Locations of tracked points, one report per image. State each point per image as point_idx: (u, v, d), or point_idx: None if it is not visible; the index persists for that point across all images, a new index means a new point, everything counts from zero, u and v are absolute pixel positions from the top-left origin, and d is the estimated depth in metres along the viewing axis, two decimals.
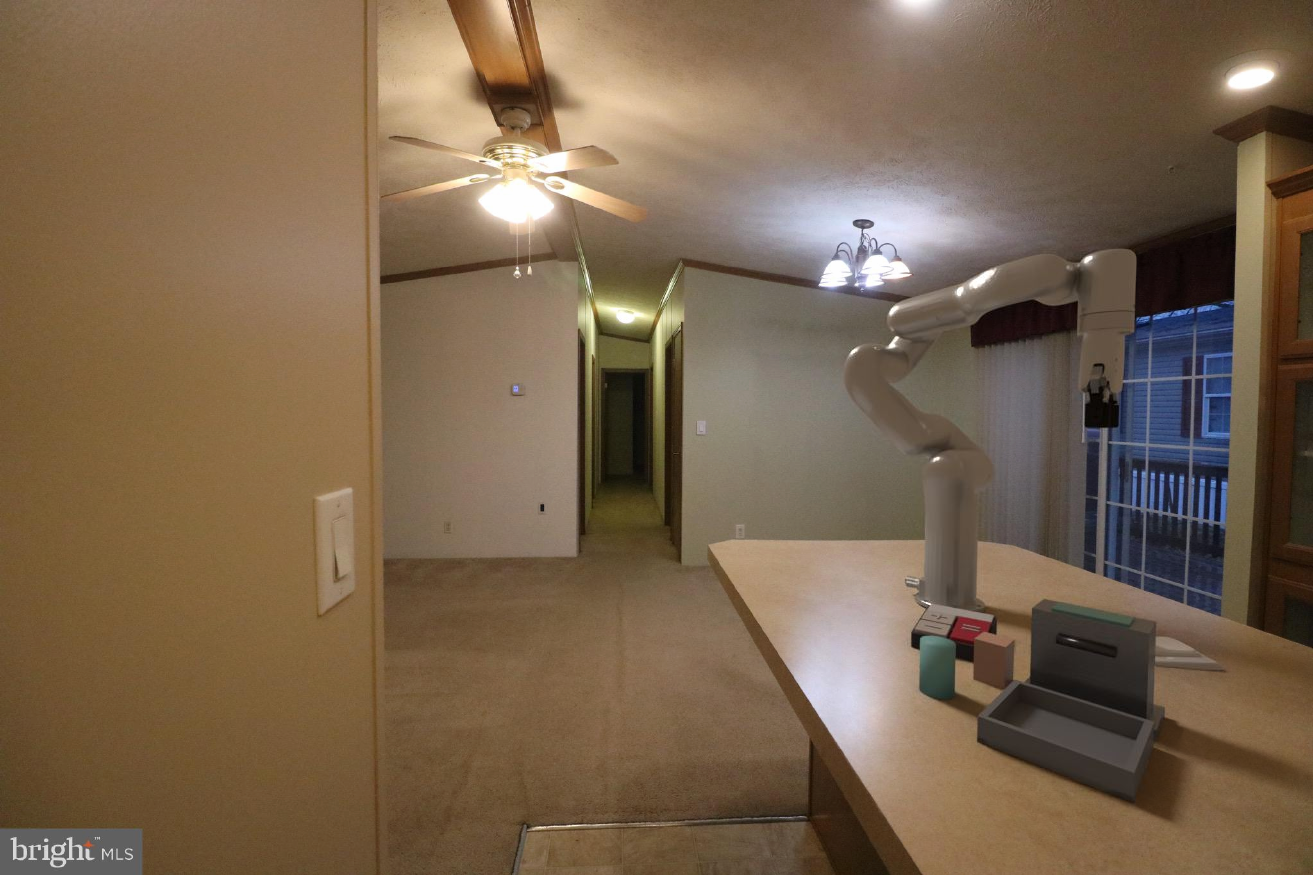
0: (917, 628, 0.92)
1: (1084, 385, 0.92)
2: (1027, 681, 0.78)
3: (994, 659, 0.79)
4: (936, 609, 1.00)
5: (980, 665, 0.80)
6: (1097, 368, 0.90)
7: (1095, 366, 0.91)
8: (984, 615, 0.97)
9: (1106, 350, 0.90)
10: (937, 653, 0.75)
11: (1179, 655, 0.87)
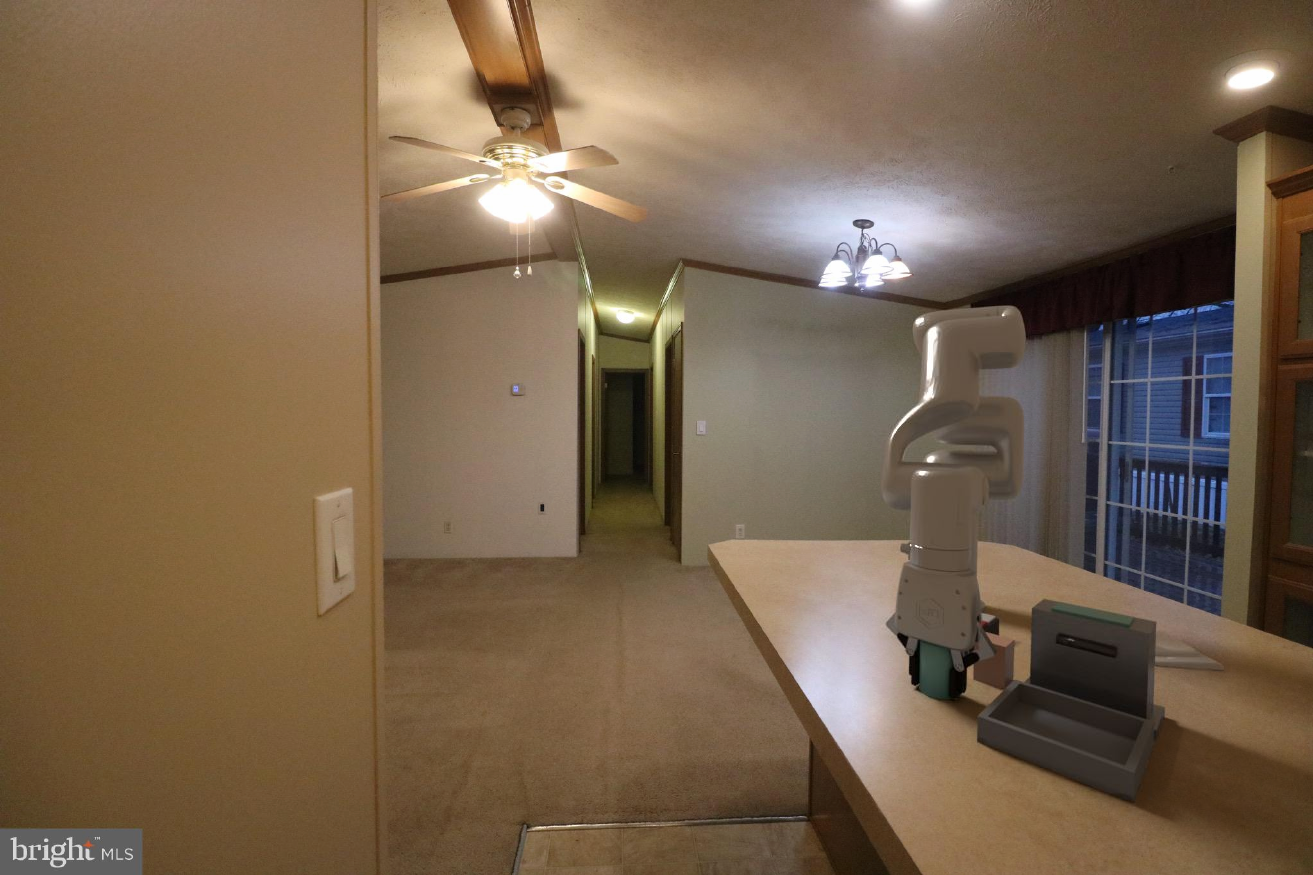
0: None
1: (972, 645, 0.72)
2: (1027, 681, 0.78)
3: (994, 659, 0.79)
4: None
5: (980, 665, 0.80)
6: (982, 630, 0.73)
7: (977, 625, 0.73)
8: (984, 615, 0.97)
9: (979, 597, 0.74)
10: (937, 653, 0.75)
11: (1179, 655, 0.87)
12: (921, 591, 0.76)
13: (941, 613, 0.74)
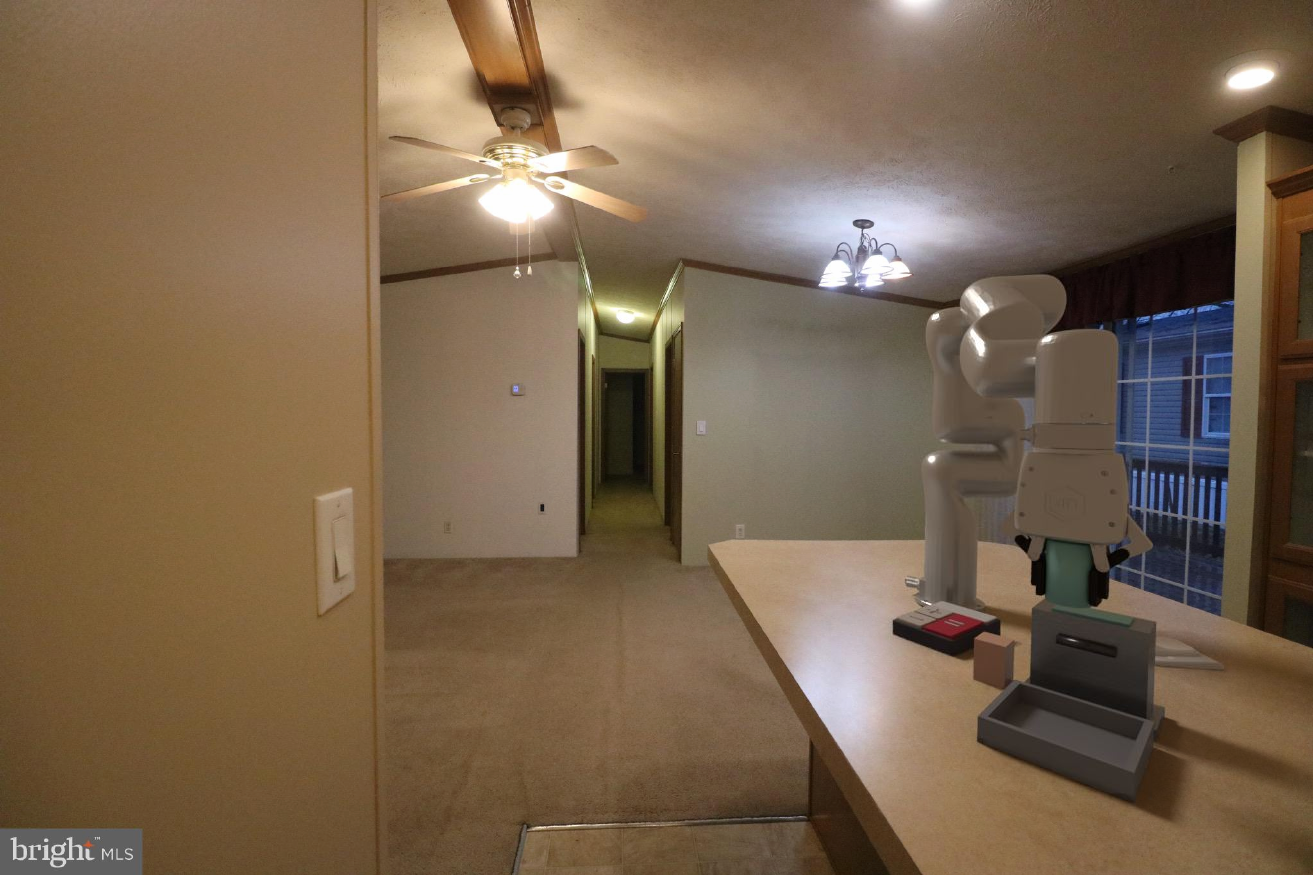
0: (898, 617, 0.98)
1: (1123, 537, 0.59)
2: (1027, 681, 0.78)
3: (994, 659, 0.79)
4: (940, 606, 1.02)
5: (980, 665, 0.80)
6: (1133, 521, 0.60)
7: (1127, 515, 0.60)
8: (985, 616, 0.97)
9: (1127, 483, 0.61)
10: (1073, 553, 0.62)
11: (1179, 655, 0.87)
12: (1052, 478, 0.63)
13: (1081, 502, 0.61)
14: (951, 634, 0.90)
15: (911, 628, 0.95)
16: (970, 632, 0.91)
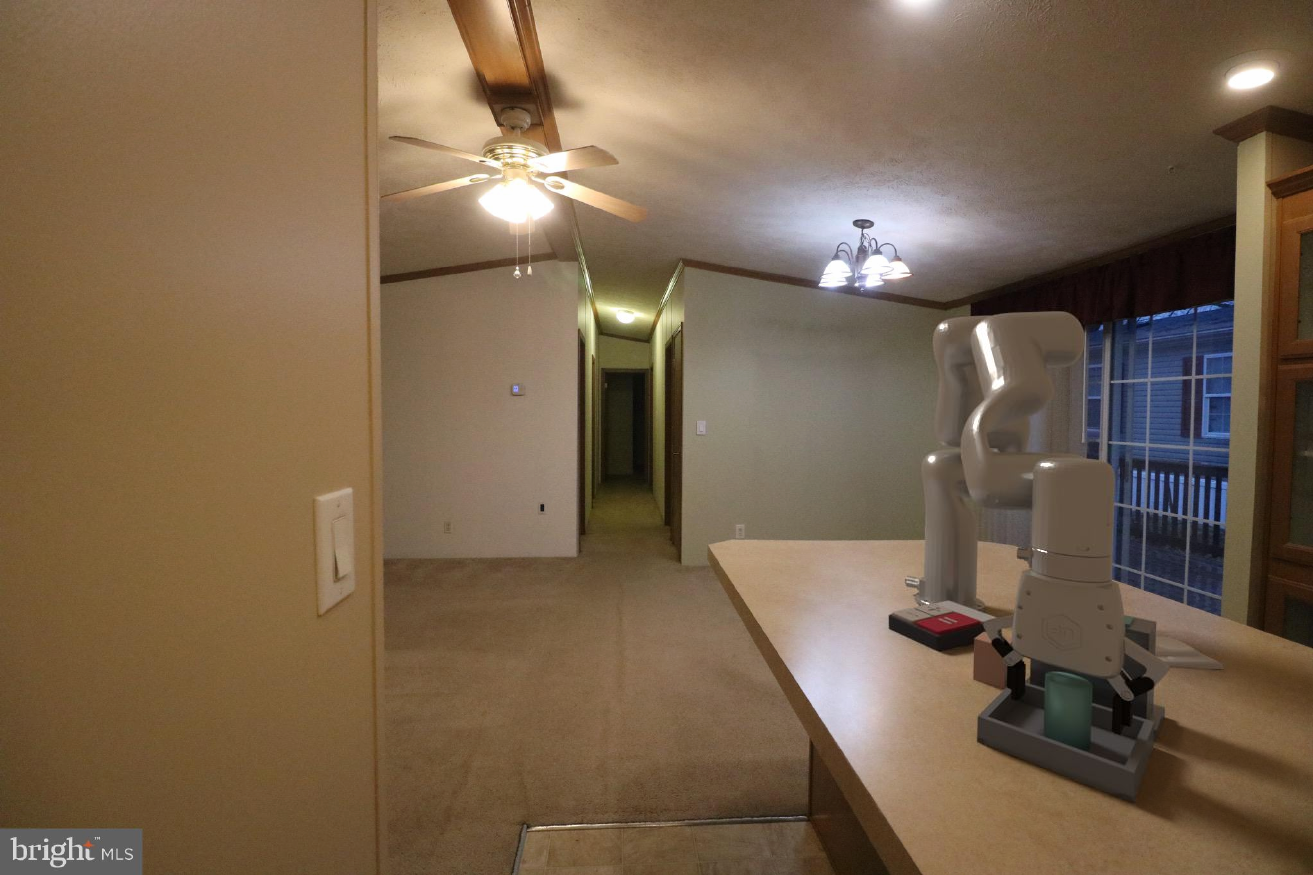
0: (894, 612, 1.00)
1: (1120, 671, 0.59)
2: (1027, 681, 0.78)
3: (994, 659, 0.79)
4: (944, 605, 1.03)
5: (980, 665, 0.80)
6: (1136, 646, 0.60)
7: (1128, 641, 0.60)
8: (985, 616, 0.97)
9: None
10: (1072, 696, 0.62)
11: (1179, 655, 0.87)
12: (1049, 605, 0.63)
13: (1077, 632, 0.61)
14: (939, 630, 0.91)
15: (904, 623, 0.97)
16: (961, 630, 0.92)
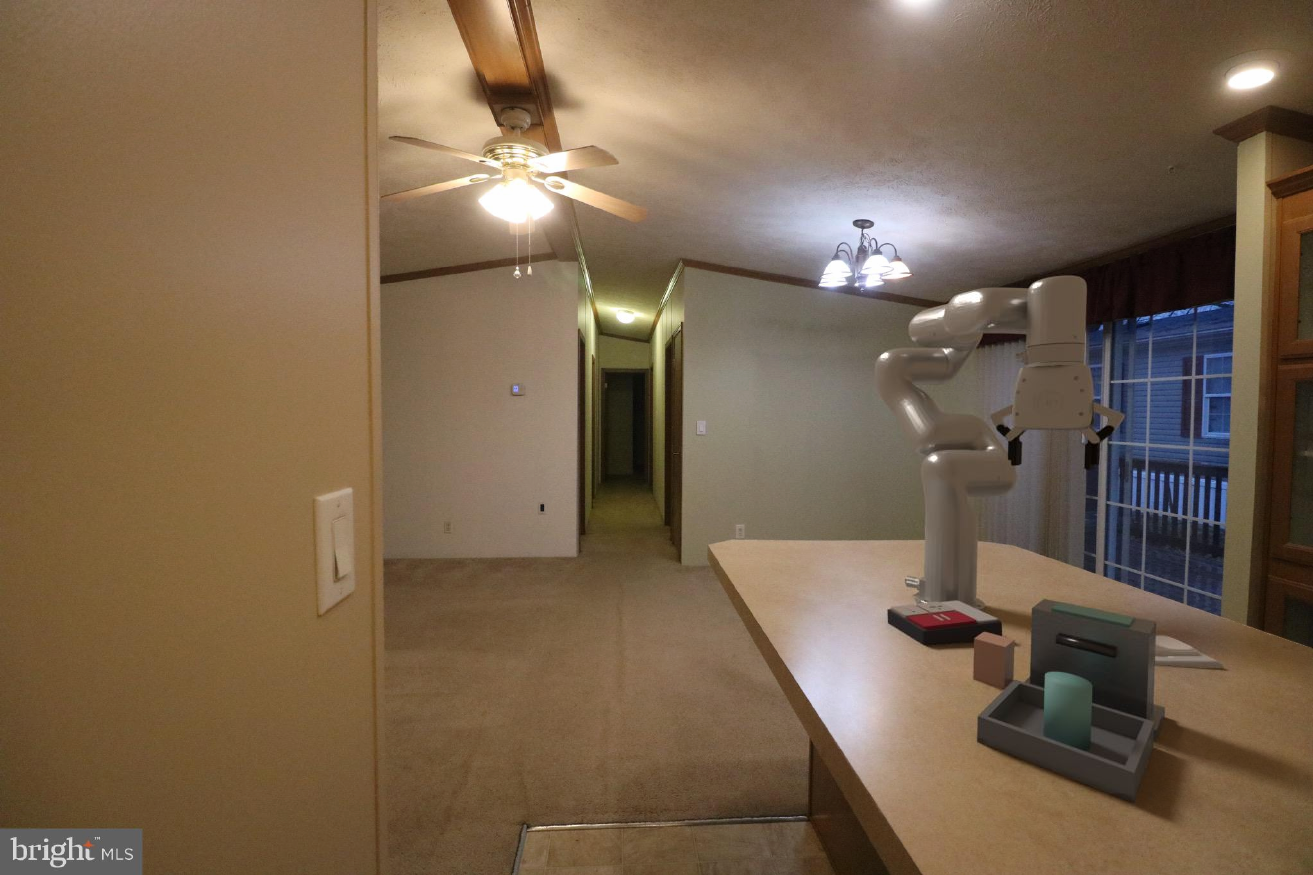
0: (893, 607, 1.03)
1: (1089, 423, 0.83)
2: (1027, 681, 0.78)
3: (994, 659, 0.79)
4: (949, 604, 1.04)
5: (980, 665, 0.80)
6: (1101, 405, 0.83)
7: (1095, 403, 0.83)
8: (986, 616, 0.97)
9: None
10: (1071, 696, 0.62)
11: (1179, 654, 0.87)
12: (1039, 385, 0.86)
13: (1059, 400, 0.84)
14: (927, 625, 0.94)
15: (898, 617, 1.00)
16: (952, 627, 0.94)
